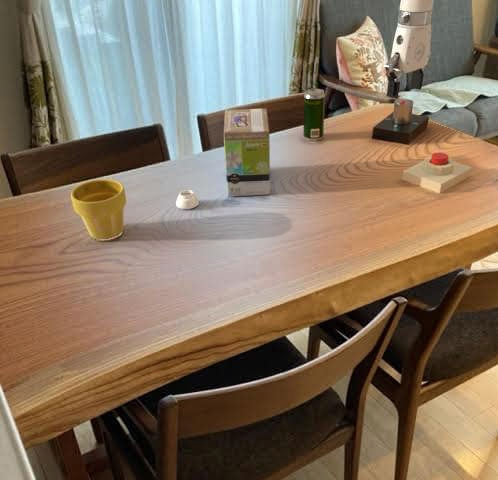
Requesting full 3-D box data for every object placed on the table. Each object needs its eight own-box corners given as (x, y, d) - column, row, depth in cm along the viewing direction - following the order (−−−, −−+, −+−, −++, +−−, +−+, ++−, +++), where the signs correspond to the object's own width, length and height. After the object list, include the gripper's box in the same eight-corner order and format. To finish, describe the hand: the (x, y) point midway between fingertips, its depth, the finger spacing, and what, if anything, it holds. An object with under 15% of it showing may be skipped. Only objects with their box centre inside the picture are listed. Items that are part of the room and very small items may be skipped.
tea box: (271, 195, 121) (270, 129, 112) (227, 197, 121) (221, 132, 112) (268, 167, 133) (266, 106, 123) (228, 169, 133) (223, 108, 123)
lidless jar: (176, 201, 121) (176, 211, 117) (175, 188, 119) (174, 199, 115) (199, 199, 121) (199, 209, 117) (197, 187, 119) (197, 197, 116)
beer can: (326, 139, 144) (328, 93, 137) (307, 142, 144) (307, 96, 136) (319, 132, 148) (320, 87, 141) (300, 135, 148) (301, 89, 140)
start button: (436, 158, 123) (437, 151, 122) (450, 163, 121) (451, 155, 120) (427, 163, 121) (428, 155, 120) (441, 167, 119) (442, 160, 118)
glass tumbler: (396, 117, 146) (399, 96, 143) (413, 120, 144) (416, 98, 140) (389, 123, 143) (391, 101, 140) (406, 126, 141) (409, 104, 138)
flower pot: (142, 231, 111) (134, 187, 105) (100, 252, 106) (88, 207, 100) (114, 216, 117) (104, 173, 111) (72, 235, 112) (59, 191, 105)
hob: (392, 121, 152) (394, 110, 150) (427, 127, 148) (429, 115, 146) (371, 138, 144) (373, 126, 142) (407, 145, 139) (409, 133, 137)
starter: (432, 164, 129) (435, 147, 127) (470, 176, 123) (474, 159, 121) (401, 180, 124) (404, 163, 121) (439, 193, 118) (442, 176, 115)
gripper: (405, 26, 122) (394, 104, 133) (449, 14, 130) (436, 88, 141) (378, 22, 126) (370, 97, 137) (423, 10, 134) (412, 82, 145)
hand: (404, 92), depth 139 cm, fingers open, 9 cm apart
